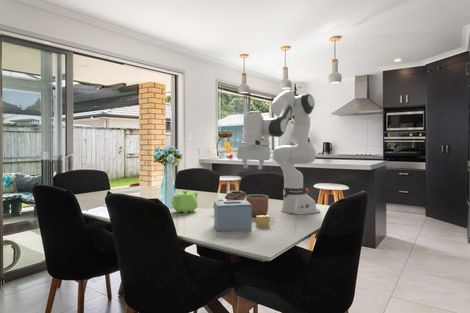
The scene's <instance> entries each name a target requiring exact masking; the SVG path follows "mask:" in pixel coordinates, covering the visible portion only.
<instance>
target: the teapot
mask: <svg viewBox="0 0 470 313" xmlns="http://www.w3.org/2000/svg"><path fill="white" fill-rule="evenodd" d="M197 198H198V192H194V193H193V192H189V191H188V190H182V192H180V193H176V195H173V196H172V200H171V205H172V208H173V209H174V211H175V213H180V212H183V213H182V214H184V215H187V214H188V212H191V213H196V210H197V208H198V206H199V204H198V203H199V202H198V199H197Z"/></svg>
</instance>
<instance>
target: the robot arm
mask: <svg viewBox="0 0 470 313" xmlns="http://www.w3.org/2000/svg"><path fill="white" fill-rule="evenodd" d="M315 103H316V102H315V99H314V97H313V96H312V94H310V93H303V94H301V95H297V96H296V95H295V93H294V92H293V91H292V90H289V89H288V90H284V91H282V92H281V93H278V95H277V96H276V97H275V98H274V99H273V101H272V102H271V105H270V106H271V107H270V108H271V111H272V113H273V114H274V115H275V116H276V117H268V118H264V116H263V115H262V111H260V110H251V111H248V112H246V114H245V121H244V131H245V134H244V141H241V142H239V144H238V146H237V151H236V158H237V160H241V161H242V164H243V169H248V168H249V165H248V164H247V162H248V161H258V162H259V164H258V165H257V170H262V169H263V165H264V163H265V161H269V160H270V159H271V148H270V145H271V143H270V141H269V140H266V139H264V138H263V137H275V138H281V137H282V136H283V135H284V134H285V132H286V128H287V125H288V124H289V121H290V119H291V118H292V117H294V120H292V121H293V122H292V123H291V128H290V131H289V135H288V138H289V140H290V142H291V143H292V144H294V145H279V146H275V147H274V148H273V150H272V158H273V160H274V162H275V163H277V164H278V166H279V167H280V169H281V170H282V173H283V174H282V175H283V181H284V182H283V186H284V187H283V190H282V191H283V192H282V194H283V201H282V202H283V203H282V206H281V209H280V210H281V212H283V213H287V214H288V213H289V214H295V215H307V214H317V213H321V209H319V208H318V207H317V204H316V200H314V199H313V198H312V197H311V196H309V195H308V193H309V192H310V189H309V188H307V187H306V188H305V187H304V174H303V173H302V172H301V171H300V170H298V169H296V167H295V165H308V164H312V163H313V162H315V160H316V158H317V152H316V149H315V148H314V147H313V146H312V145H310V143H309V140H308V139H309V134H310V128H311V116H310V114H312V112H313V110H314V108H315Z"/></svg>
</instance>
